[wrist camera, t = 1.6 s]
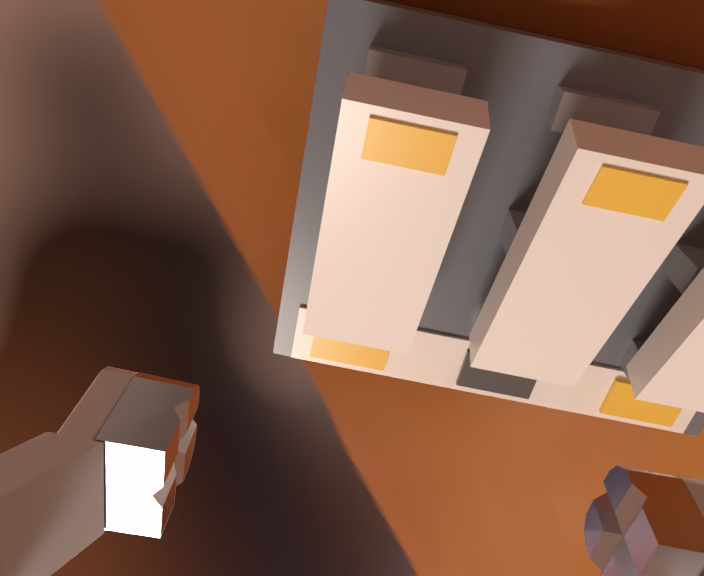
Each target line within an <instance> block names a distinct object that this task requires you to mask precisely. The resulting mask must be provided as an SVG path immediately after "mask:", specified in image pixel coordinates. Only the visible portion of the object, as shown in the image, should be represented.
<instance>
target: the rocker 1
mask: <svg viewBox="0 0 704 576" xmlns="http://www.w3.org/2000/svg"><path fill="white" fill-rule="evenodd" d="M489 132H490V121H489V110H488V101H485V100H480V99H476V98H471V97H466V96H462V95H457V94H452V93H447V92H443V91H438V90H433V89H429V88H424V87H419V86H414V85H410V84H405V83H400V82H396V81H391V80H386V79H381V78H377V77H372V76H367V75H363V74H358V73H353V72H349V74H348V78H347V81H346V85H345V89H344V93H343V97H342V102H341V108H340V114H339V120H338V125H337V131H336V137H335V143H334V149H333V155H332V161H331V167H330V173H329V179H328V185H327V191H326V197H325V203H324V209H323V215H322V221H321V227H320V233H319V239H318V244H317V250H316V256H315V262H314V268H313V274H312V280H311V286H310V292H309V298H308V304H307V310H306V316H305V322H304V328H303V334H305V335H310V336H316V337H321V338H326V339H331V340H336V341H341V342H346V343H351V344H356V345H361V346H367V347H372V348H377V349H382V350H387V351H392V352H397V353H402V354H407V355H408V353H409V350H410V347H411V344H412V342H413V339H414V336H415V334H416V331H417V328H418V325H419V323H420V320H421V317H422V314H423V312H424V309H425V306H426V304H427V301H428V298H429V295H430V293H431V290H432V287H433V285H434V282H435V279H436V276H437V274H438V271H439V268H440V265H441V263H442V260H443V257H444V255H445V252H446V249H447V246H448V244H449V241H450V238H451V236H452V233H453V230H454V227H455V225H456V222H457V219H458V216H459V214H460V211H461V208H462V206H463V203H464V200H465V197H466V195H467V192H468V189H469V187H470V184H471V181H472V178H473V176H474V173H475V170H476V167H477V165H478V162H479V159H480V157H481V154H482V151H483V148H484V146H485V143H486V140H487V138H488V135H489Z"/></svg>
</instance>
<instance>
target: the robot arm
mask: <svg viewBox="0 0 704 576" xmlns="http://www.w3.org/2000/svg"><path fill="white" fill-rule="evenodd" d="M198 404H199V387H198V385H195V384H190V383H186V382H181V381H176V380H172V379H167V378H162V377H158V376H153V375H148V374H144V373H136V372H132V371H127V370H123V369H118V368H113V367H107V368H105V369H103V370H102V371H100V373H99V374H98V375H97V377H96V378H95V380H94V381H93V383H92V384H91V386H90V387H89V388H88V390H87V391H86V393H85V394H84V395H83V397H82V398H81V400H80V401H79V403H78V404H77V405H76V407H75V408H74V410H73V411H72V413H71V414H70V415H69V417H68V418H67V420H66V421H65V422H64V424H63V425H62V427H61V428H60V430H59V431H58V433H57V434H56V433H50V432H46V433H44V434H42V435H40V436H38V437H35V438H33V439H31V440H29V441H27V442H25V443H23V444H21V445H19V446H17V447H14V448H13V449H10V450H8V451H6V452H4V453H2V454H0V576H50V575H52V574H53V573H54V572H55V571H57V570H58V569H59V568H60V567H62V566H63V565H64V564H66V563H67V562H68V561H69V560H71V559H72V558H73V557H74V556H76V555H77V554H78V553H80V552H81V551H82V550H83V549H84V548H86V547H87V546H88V545H90V544H91V543H92V542H93V541H95V540H96V539H97V538H99V537H100V536H101V535H102V534H104V530H112V531H117V532H124V533H130V534H138V535H144V536H151V537H157V538H160V537H161V534H162V532H163V530H164V527H165V525H166V522H167V520H168V517H169V515H170V513H171V510H172V507H173V505H174V500H175V487H176V486H177V485H178V484H180V483H182V482H183V480H184V478H185V475H186V472H187V470H188V467H189V463H190V460H191V456H192V453H193V449H194V443H195V437H196V429H197V425H196V423H195V422H194V420H193V416H194V414H195V412H196V410H197V407H198ZM603 482H604V485H605V488H606V491H607V493H605V494H603V495H601V496H599V497H598V498H596V499H594V500H593V501H592V503H591V505H590V507H589V509H588V511H587V513H586V518H585V526H584V537H585V545H586V548H587V551H588V555H589V557H590V558H591V559H592V561H593V562H594V563H595V564H596V565H597V566H598V567H599V568H600V569H601V570H602V572H601V574H600V576H704V480H698V479H692V478H687V477H681V476H671V475H666V474H661V473H655V472H650V471H644V470H639V469H634V468H628V467H623V466H617V465H616V466H615V467H614V468H612V469H611V470H610V471H609V472H608V474H607V476H606V478H605V479H604V481H603Z"/></svg>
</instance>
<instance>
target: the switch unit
mask: <svg viewBox="0 0 704 576" xmlns="http://www.w3.org/2000/svg"><path fill="white" fill-rule="evenodd" d="M349 72H353V73H358V74H363V75H367V76H372V77H377V78H381V79H386V80H391V81H396V82H400V83H405V84H410V85H414V86H419V87H424V88H429V89H433V90H438V91H443V92H447V93H452V94H457V95H462V96H466V97H471V98H476V99H480V100H485V101H488V110H489V121H490V132H489V135H488V138H487V140H486V143H485V146H484V148H483V151H482V154H481V157H480V159H479V162H478V165H477V167H476V170H475V173H474V176H473V178H472V181H471V184H470V187H469V189H468V192H467V195H466V197H465V200H464V203H463V206H462V208H461V211H460V214H459V216H458V219H457V222H456V225H455V227H454V230H453V233H452V236H451V238H450V241H449V244H448V246H447V249H446V252H445V255H444V257H443V260H442V263H441V265H440V268H439V271H438V274H437V276H436V279H435V282H434V285H433V287H432V290H431V293H430V295H429V298H428V301H427V304H426V306H425V309H424V312H423V314H422V317H421V320H420V323H419V325H418V328H417V331H416V334H415V336H414V339H413V342H412V344H411V347H410V350H409V353H408V355H407V354H402V353H397V352H392V351H387V350H382V349H377V348H372V347H367V346H361V345H356V344H351V343H346V342H341V341H336V340H331V339H326V338H321V337H316V336H310V335H305V334H303V328H304V322H305V316H306V310H307V304H308V298H309V292H310V286H311V280H312V274H313V268H314V262H315V256H316V250H317V244H318V239H319V233H320V227H321V221H322V215H323V209H324V203H325V197H326V191H327V185H328V179H329V173H330V167H331V161H332V155H333V149H334V143H335V137H336V131H337V125H338V120H339V114H340V108H341V102H342V97H343V93H344V89H345V85H346V81H347V78H348V74H349ZM569 119H575V120H579V121H584V122H589V123H593V124H598V125H603V126H608V127H612V128H617V129H622V130H626V131H631V132H636V133H641V134H645V135H650V136H655V137H659V138H664V139H669V140H673V141H678V142H683V143H688V144H692V145H697V146H702V147H704V70H703V69H698V68H694V67H689V66H685V65H680V64H675V63H671V62H666V61H662V60H657V59H652V58H648V57H643V56H639V55H634V54H629V53H625V52H620V51H616V50H611V49H606V48H602V47H597V46H592V45H588V44H583V43H579V42H574V41H569V40H565V39H560V38H556V37H551V36H546V35H542V34H537V33H533V32H528V31H523V30H519V29H514V28H510V27H505V26H500V25H496V24H491V23H486V22H482V21H477V20H473V19H468V18H463V17H459V16H454V15H450V14H445V13H440V12H436V11H431V10H427V9H422V8H417V7H413V6H408V5H404V4H399V3H394V2H390V1H385V0H328V4H327V11H326V17H325V24H324V30H323V36H322V43H321V49H320V56H319V62H318V68H317V75H316V81H315V88H314V94H313V100H312V107H311V113H310V120H309V126H308V132H307V139H306V145H305V152H304V158H303V164H302V171H301V177H300V184H299V190H298V196H297V203H296V209H295V216H294V222H293V228H292V235H291V241H290V248H289V254H288V260H287V267H286V273H285V280H284V286H283V292H282V299H281V305H280V312H279V318H278V324H277V332H276V338H275V344H274V351H273V353H276V354H281V355H286V356H291V357H293V358H298V359H303V360H308V361H313V362H318V363H323V364H328V365H334V366H339V367H344V368H349V369H354V370H359V371H364V372H370V373H375V374H380V375H385V376H390V377H395V378H400V379H405V380H411V381H416V382H421V383H426V384H431V385H436V386H441V387H447V388H452V389H457V390H462V391H467V392H472V393H477V394H482V395H488V396H493V397H498V398H503V399H508V400H513V401H518V402H524V403H529V404H534V405H539V406H544V407H549V408H554V409H559V410H565V411H570V412H575V413H580V414H585V415H590V416H595V417H601V418H606V419H611V420H616V421H621V422H626V423H631V424H636V425H642V426H647V427H652V428H657V429H662V430H667V431H672V432H678V433H686V434H692V435H697V436H698V435H699V433H700V431H701V430H702V428H703V427H704V413H703V412H698V411H693V410H687V409H682V408H677V407H672V406H667V405H662V404H657V403H652V402H647V401H642V400H637V399H635V398H634V394H633V390H632V386H631V382H630V379H629V375H628V371H627V367H626V366H627V365H628V363H629V362H630V361H631V359H632V358H633V357H634V356H635V354H636V353H637V352H638V350H639V349H640V348H641V347H642V345H643V344H644V343H645V342H646V340H647V339H648V338H649V336H650V335H651V334H652V333H653V331H654V330H655V329H656V328H657V326H658V325H659V324H660V322H661V321H662V320H663V319H664V317H665V316H666V315H667V313H668V312H669V311H670V310H671V308H672V307H673V306H674V305H675V303H676V302H677V301H678V299H679V298H680V297H681V296H682V294H683V293H684V292H685V291H686V289H687V288H688V287H689V285H690V284H691V283H692V282H693V280H694V279H695V278H696V277H697V275H698V274H699V273H700V271H701V270H702V269H703V268H704V205H703V206H702V208H701V209H700V211H699V212H698V213H697V215H696V216H695V218H694V219H693V220H692V222H691V223H690V225H689V226H688V227H687V229H686V230H685V232H684V233H683V234H682V236H681V237H680V239H679V240H678V241H677V243H676V244H675V246H674V247H673V248H672V250H671V251H670V253H669V254H668V255H667V257H666V258H665V260H664V261H663V262H662V264H661V265H660V267H659V268H658V269H657V271H656V272H655V274H654V275H653V277H652V278H651V279H650V281H649V282H648V284H647V285H646V286H645V288H644V289H643V291H642V292H641V293H640V295H639V296H638V298H637V299H636V300H635V302H634V303H633V305H632V306H631V307H630V309H629V310H628V312H627V313H626V314H625V316H624V317H623V319H622V320H621V321H620V323H619V324H618V326H617V327H616V328H615V330H614V331H613V333H612V334H611V335H610V337H609V338H608V340H607V341H606V342H605V344H604V345H603V347H602V348H601V349H600V351H599V352H598V354H597V355H596V356H595V358H594V359H593V361H592V362H591V363H590V365H589V366H588V368H587V369H586V370H585V372H584V373H583V375H582V376H581V377H580V379H579V380H578V382H577V383H576V384H575V386H574V387H570V386H565V385H560V384H555V383H550V382H545V381H540V380H535V379H530V378H524V377H519V376H514V375H509V374H504V373H499V372H494V371H489V370H484V369H479V368H473V367H470V341H469V335H470V332H471V330H472V328H473V326H474V324H475V322H476V320H477V317H478V315H479V313H480V311H481V309H482V307H483V304H484V302H485V300H486V298H487V296H488V294H489V291H490V289H491V287H492V285H493V283H494V281H495V279H496V276H497V274H498V272H499V270H500V268H501V266H502V263H503V261H504V259H505V257H506V255H507V253H508V250H509V248H510V246H511V244H512V242H513V240H514V238H515V235H516V233H517V231H518V229H519V227H520V225H521V222H522V220H523V218H524V216H525V214H526V212H527V209H528V207H529V205H530V203H531V201H532V199H533V197H534V194H535V192H536V190H537V188H538V186H539V184H540V181H541V179H542V177H543V175H544V173H545V171H546V168H547V166H548V164H549V162H550V160H551V158H552V156H553V153H554V151H555V149H556V147H557V145H558V143H559V140H560V138H561V136H562V134H563V132H564V130H565V127H566V125H567V123H568V121H569Z"/></svg>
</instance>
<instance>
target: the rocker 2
mask: <svg viewBox="0 0 704 576" xmlns="http://www.w3.org/2000/svg"><path fill="white" fill-rule="evenodd" d="M703 205H704V147H702V146H697V145H692V144H688V143H683V142H678V141H673V140H669V139H664V138H659V137H655V136H650V135H645V134H641V133H636V132H631V131H626V130H622V129H617V128H612V127H608V126H603V125H598V124H593V123H589V122H584V121H579V120H575V119H569V121H568V123H567V125H566V127H565V130H564V132H563V134H562V136H561V138H560V140H559V143H558V145H557V147H556V149H555V151H554V153H553V156H552V158H551V160H550V162H549V164H548V166H547V168H546V171H545V173H544V175H543V177H542V179H541V181H540V184H539V186H538V188H537V190H536V192H535V194H534V197H533V199H532V201H531V203H530V205H529V207H528V209H527V212H526V214H525V216H524V218H523V220H522V222H521V225H520V227H519V229H518V231H517V233H516V235H515V238H514V240H513V242H512V244H511V246H510V248H509V250H508V253H507V255H506V257H505V259H504V261H503V263H502V266H501V268H500V270H499V272H498V274H497V276H496V279H495V281H494V283H493V285H492V287H491V289H490V291H489V294H488V296H487V298H486V300H485V302H484V304H483V307H482V309H481V311H480V313H479V315H478V317H477V320H476V322H475V324H474V326H473V328H472V330H471V332H470V335H469V341H470V367H473V368H479V369H484V370H489V371H494V372H499V373H504V374H509V375H514V376H519V377H524V378H530V379H535V380H540V381H545V382H550V383H555V384H560V385H565V386H570V387H574V386H575V384H576V383H577V382H578V380H579V379H580V377H581V376H582V375H583V373H584V372H585V370H586V369H587V368H588V366H589V365H590V363H591V362H592V361H593V359H594V358H595V356H596V355H597V354H598V352H599V351H600V349H601V348H602V347H603V345H604V344H605V342H606V341H607V340H608V338H609V337H610V335H611V334H612V333H613V331H614V330H615V328H616V327H617V326H618V324H619V323H620V321H621V320H622V319H623V317H624V316H625V314H626V313H627V312H628V310H629V309H630V307H631V306H632V305H633V303H634V302H635V300H636V299H637V298H638V296H639V295H640V293H641V292H642V291H643V289H644V288H645V286H646V285H647V284H648V282H649V281H650V279H651V278H652V277H653V275H654V274H655V272H656V271H657V269H658V268H659V267H660V265H661V264H662V262H663V261H664V260H665V258H666V257H667V255H668V254H669V253H670V251H671V250H672V248H673V247H674V246H675V244H676V243H677V241H678V240H679V239H680V237H681V236H682V234H683V233H684V232H685V230H686V229H687V227H688V226H689V225H690V223H691V222H692V220H693V219H694V218H695V216H696V215H697V213H698V212H699V211H700V209H701V208H702V206H703Z"/></svg>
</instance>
